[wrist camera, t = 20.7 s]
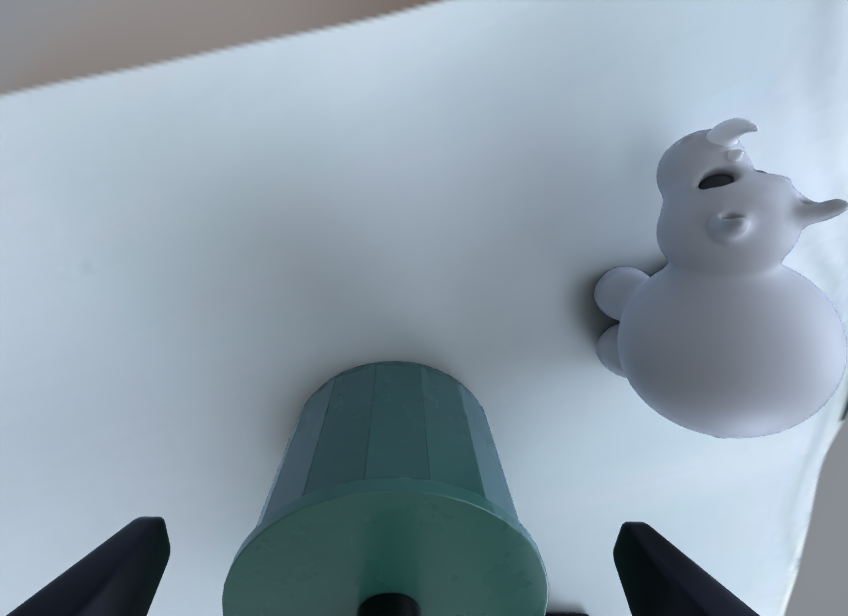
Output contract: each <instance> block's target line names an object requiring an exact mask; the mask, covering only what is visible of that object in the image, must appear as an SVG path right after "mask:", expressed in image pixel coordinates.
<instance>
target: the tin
mask: <svg viewBox="0 0 848 616" xmlns="http://www.w3.org/2000/svg"><path fill="white" fill-rule="evenodd" d="M392 477H401V478H415V479H425V480H430V481H436V482H442V483H446V484H449V485H453V486H456V487H460V488H463V489H466V490H468V491H471V492H473V493H476V494H478V495H480V496H483V497H485V498H486V499H488V500H490V501H492V502H493V503H495V504H497V505H499V506H500V507H502V508H503V509H504V510H505V511H507V512H508V513H509V514H511V515H512V516H513V517H514V518H515V519H516V520H517V521H518V522H519V520H518V517H517V514H516V511H515V507H514V504H513V501H512V498H511V495H510V492H509V488H508V485H507V482H506V479H505V476H504V472H503V469H502V466H501V463H500V460H499V457H498V453H497V450H496V447H495V444H494V441H493V438H492V434H491V431H490V428H489V425H488V422H487V419H486V416H485V413H484V410H483V409H482V407H481V406H480V404H479V403H478V401H477V400H476V398H475V397H474V396H473V395H472V394H471V392H470V391H469V390H468V389H466V388H465V387H464V386H463V385H462V384H461V383H460V382H458V381H457V380H455V379H454V378H452V377H451V376H449V375H447V374H445V373H443V372H441V371H439V370H436V369H433V368H430V367H428V366H424V365H420V364H415V363H409V362H399V361H397V362H378V363H371V364H367V365H363V366H359V367H356V368H353V369H351V370H348V371H345V372H343V373H341V374H340V375H338V376H336V377H334V378H332V379H331V380H330V381H328V382H327V383H325V384H324V385H323V386H321V387H320V388H319V389H318V390H317V391H316V392H315V393H314V394H313V395H312V397H311V398H310V399H309V400H308V401H307V403H306V404H305V406H304V408H303V410H302V411H301V413H300V416H299V418H298V421H297V423H296V425H295V427H294V429H293V431H292V433H291V436H290V439H289V441H288V444H287V446H286V449H285V452H284V454H283V457H282V460H281V462H280V465H279V467H278V470H277V473H276V475H275V478H274V480H273V483H272V486H271V488H270V491H269V494H268V496H267V499H266V501H265V504H264V507H263V509H262V512H261V514H260V517H259V520H258V522H257V525H256V527H257V526H258V525H259V524H260V523H262V522H263V521H264V520H265V519H266V518H267V517H268V516H270V515H271V514H272V513H274V512H275V511H277V510H278V509H280V508H282V507H283V506H285V505H286V504H288V503H290V502H292V501H294V500H296V499H298V498H300V497H302V496H304V495H306V494H309V493H312V492H314V491H317V490H320V489H323V488H326V487H329V486H333V485H337V484H341V483H345V482H349V481H356V480H363V479H371V478H392Z"/></svg>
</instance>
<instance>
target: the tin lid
mask: <svg viewBox="0 0 848 616" xmlns="http://www.w3.org/2000/svg"><path fill="white" fill-rule="evenodd" d="M547 603H548V579H547V574H546V570H545V567H544V564H543V561H542V558H541V555H540V553H539V551H538V548H537V546H536V544H535V542H534V541H533V539H532V538H531V536H530V535H529V533H528V532H527V530H526V529H525V528H524V527H523V526H522V525H521V524H520V523H519V522H518V521H517V520H516V519H515V518H514V517H513V516H512V515H511V514H509V513H508V512H507V511H505V510H504V509H503V508H502V507H500V506H499V505H497V504H495V503H493V502H492V501H490V500H488V499H486V498H485V497H483V496H480V495H478V494H476V493H473V492H471V491H468V490H466V489H463V488H460V487H456V486H453V485H449V484H446V483H442V482H436V481H430V480H425V479H415V478H401V477H392V478H371V479H363V480H356V481H349V482H345V483H341V484H337V485H333V486H329V487H326V488H323V489H320V490H317V491H314V492H312V493H309V494H306V495H304V496H302V497H300V498H298V499H296V500H294V501H292V502H290V503H288V504H286V505H285V506H283V507H282V508H280V509H278V510H277V511H275V512H274V513H272V514H271V515H270V516H268V517H267V518H266V519H265V520H264V521H263V522H262V523H260V524H259V525H258V526H257V527H256V528H255V529H254V530H253V531H252V532H251V534H250V535H249V536H248V537H247V538H246V539H245V541H244V542H243V544H242V545H241V547H240V549H239V550H238V552H237V554H236V555H235V557H234V560H233V562H232V565H231V567H230V570H229V573H228V575H227V578H226V581H225V584H224V590H223V596H222V605H223V616H544V615H545V613H546V608H547Z"/></svg>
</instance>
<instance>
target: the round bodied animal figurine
mask: <svg viewBox="0 0 848 616" xmlns="http://www.w3.org/2000/svg"><path fill="white" fill-rule="evenodd" d="M757 129H758V127H757V126H756V125H755V124H754V123H753V122H751V121H750V120H747V119H744V118H733V119H729V120H726V121H724V122H722V123H720V124H718V125H717V126H715V127H714V128H713V129H708V130H702V131H697V132H694V133H692V134H689V135H687V136H685V137H683V138H682V139H680V140H678V141H677V142H676V143H674V144H673V145H672V146H671V147H670V148H669V149H668V150H667V151H666V152H665V154H664V155H663V157H662V158H661V160H660V163H659V165H658V169H657V183H658V187H659V190H660V192H661V194H662V196H663V206H662V210H661V214H660V217H659V220H658V224H657V241H658V244H659V247H660V249H661V251H662V252H663V254H664V255H665V257H666V258H667V260H668V263H667V265H666V266H665V268H663V269H662V270H660V271H658V272H657V273H655V274H654V275H653V276H651V277H649V276H648V275H647V274H645V273H644V272H642V271H640V270H638V269H635V268H632V267H626V266H620V267H615V268H613V269H611V270H609V271H608V272H606V273H605V274H604V275H603V276H602V277H601V279H600V280H599V282H598V283H597V285H596V288H595V292H594V298H595V301H596V304H597V305H598V307H599V308H600V309H601V311H602V312H604V313H605V314H606V315H608V316H609V317H611V318H613V319H616V320H619V321H620V323H619V324H616V325H613V326H611V327H610V328H608V329H607V330H606V331H605V332H604V333H603V334H602V335H601V337H600V338H599V340H598V343H597V347H596V351H597V355H598V357H599V359H600V361H601V362H602V364H603V365H604V366H605V367H606V368H607V369H609V370H610V371H612V372H613V373H615V374H617V375H619V376H622V377H624V378H627V379H628V381H629V382H630V384H631V386H632V387H633V389H634V390H635V391H636V392H637V394H638V395H639V396H640V397H641V398H642V399H643V400H644V401H645V402H646V403H647V404H648V405H649V406H650V407H651V408H652V409H654V410H655V411H656V412H658V413H659V414H660V415H662V416H663V417H665V418H667V419H668V420H670V421H672V422H674V423H676V424H678V425H680V426H682V427H685V428H687V429H690V430H693V431H696V432H699V433H703V434H707V435H711V436H714V437H717V438H752V437H759V436H766V435H770V434H774V433H778V432H781V431H784V430H786V429H789V428H791V427H794V426H796V425H798V424H800V423H801V422H803V421H805V420H806V419H808V418H809V417H811V416H812V415H813V414H815V413H816V412H818V411H819V410H820V409H821V408H822V407H823V406H824V405H825V404H826V403H827V402H828V401H829V399H830V398H831V397H832V395H833V394H834V393H835V391H836V390H837V388H838V386H839V384H840V382H841V380H842V377H843V375H844V371H845V367H846V362H847V353H848V350H847V338H846V333H845V329H844V326H843V323H842V321H841V318H840V316H839V314H838V312H837V310H836V309H835V307H834V306H833V304H832V303H831V301H830V300H829V299H828V297H827V296H826V295H825V294H824V293H823V292H822V291H821V290H820V289H819V288H818V287H817V286H816V285H815V284H813V283H812V282H811V281H810V280H808V279H807V278H806V277H804V276H802V275H801V274H799V273H797V272H796V271H794V270H792V269H790V268H788V267H786V266H784V265H782V261H783V259H784V258H785V257H786V256H787V254H788V253H789V252H790V251H791V250H792V249H793V247H794V246H795V244H796V243H797V241H798V239H799V237H800V234H801V232H802V230H803V229H804V228H805V227H807V226H808V225H811V224H814V223H817V222H821V221H825V220H828V219H831V218H833V217H835V216H838V215H840V214H841V213H843V212H844V211H846V210H847V209H848V202H846V201H844V200H840V199H833V200H829V201H825V202H821V203H818V202H813V201H811V200H809V199H808V198H806V197H805V196H803V195H802V194H801V193H800V192H799V191H797V190H796V189H795V187H794V186H793V184H792V182H791V179H789V178H788V177H785V176H780V175H775V174H769V173H766V172H763V171H759V170H755V168H754V166H753V164H752V162H751V160H750V159H749V157H748V156H747V153H746V151H745V149H744V147H743V146H742V144H741V143H740V141H739V138H740V137H741V136H742V135H743V134H745V133H748V132H752V131H757Z"/></svg>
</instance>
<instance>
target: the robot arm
mask: <svg viewBox="0 0 848 616" xmlns="http://www.w3.org/2000/svg"><path fill="white" fill-rule="evenodd" d="M169 556H170V543H169V538H168V534H167V529H166V524H165V521H164V519H163V518H162V517H139V518H137V519H135V520H133V521H132V522H130V523H129V524H128V525H126V526H125V527H124V528H122V529H121V530H120V531H118V532H117V533H116V534H114V535H113V536H112V537H110V538H109V539H108V540H106V541H105V542H104V543H102V544H101V545H100V546H98V547H97V548H96V549H94V550H93V551H92V552H90V553H89V554H88V555H86V556H85V557H84V558H82V559H81V560H80V561H78V562H77V563H76V564H74V565H73V566H72V567H70V568H69V569H68V570H66V571H65V572H64V573H62V574H61V575H60V576H58V577H57V578H56V579H54V580H53V581H52V582H50V583H49V584H48V585H46V586H45V587H44V588H42V589H41V590H40V591H38V592H37V593H36V594H34V595H33V596H32V597H30V598H29V599H28V600H26V601H25V602H24V603H22V604H21V605H20V606H18V607H17V608H16V609H14V610H13V611H12V612H10V613H9V614H8V615H6V616H147V613H148V611H149V608H150V605H151V603H152V600H153V598H154V595H155V593H156V590H157V588H158V585H159V583H160V580H161V578H162V575H163V573H164V570H165V568H166V565H167V563H168V560H169ZM613 557H614V562H615V565H616V568H617V571H618V574H619V577H620V580H621V583H622V586H623V590H624V593H625V596H626V599H627V602H628V605H629V608H630V611H631V614H632V616H760V615H758V614H757V613H756V612H755V611H753V610H752V609H751V608H750V607H748V606H747V605H746V604H745V603H744V602H742V601H741V600H740V599H739V598H737V597H736V596H735V595H734V594H733V593H731V592H730V591H729V590H728V589H726V588H725V587H724V586H723V585H722V584H720V583H719V582H718V581H717V580H715V579H714V578H713V577H712V576H711V575H709V574H708V573H707V572H706V571H704V570H703V569H702V568H701V567H699V566H698V565H697V564H696V563H695V562H693V561H692V560H691V559H690V558H688V557H687V556H686V555H685V554H684V553H682V552H681V551H680V550H679V549H677V548H676V547H675V546H674V545H673V544H671V543H670V542H669V541H668V540H666V539H665V538H664V537H663V536H662V535H660V534H659V533H658V532H657V531H655V530H654V529H653V528H652V527H650V526H649V525H648V524H646V523H644V522H625V523H624V524H623V525H622V526H621V529H620V532H619V535H618V538H617V541H616V543H615V546H614V550H613ZM544 616H589V615H588V614H545V615H544Z"/></svg>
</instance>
